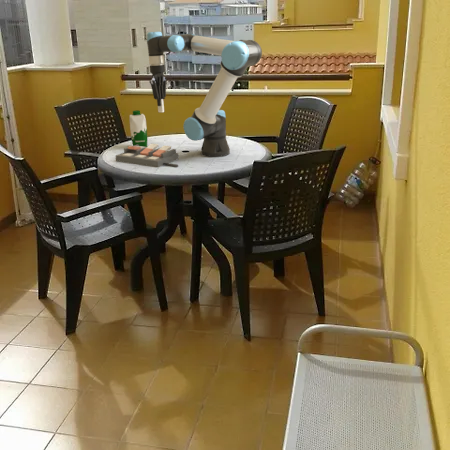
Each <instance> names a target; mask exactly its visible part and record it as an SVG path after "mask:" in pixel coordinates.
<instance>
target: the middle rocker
mask: <svg viewBox="0 0 450 450" xmlns="http://www.w3.org/2000/svg"><path fill="white" fill-rule="evenodd" d="M147 146H148V147H146V148H145V149H144V150H143V151H142V152H140V154H141V155H146V156H148V155H149V153H148V152H150V151H153V150H155V149H158V148H160V147H159V144H158V143H150V144H149V145H147Z"/></svg>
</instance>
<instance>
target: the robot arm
mask: <svg viewBox="0 0 450 450" xmlns="http://www.w3.org/2000/svg"><path fill="white" fill-rule="evenodd" d="M146 44H147V52H148V63H149V73H150V74H151V75H152V76H151V79H149V85H150V87H151V91H152V96H153V99H154V100H156V103H157V111H158V113H164V112H165V106H164V104H165V103H164V102H165V101H164V100H165V99H166V97H167V82H168V78H167V77H165V75H164V73H165V72H166V67H165V56H164V55H165V54H164V53H179V52H183V51H189V52H190V51H191V52H198V53H202V54H203V53H204V54H208V55H215V56H221V61H220V63H219V64H220V67H221V68H220V70H219V72H218V73H217V75H216V77H215V79H214V81H213V83H212V85H211V86H210V87H209V89H208V92H207V94H206V96H205V97H204V100H203V101H202V103H201V105H200V106H199V107H197V108H195V109H194V112H193V113H192V115H191V116H190V117H187V118H186V119H185V120H184V122H183V126H182V127H183V130H184V133H185V135H186V137H187V138H188V139H189V140H192V141H195V142H196V141H202V140H203V142H202V145H201V148H200V154H201V156H204V157H210V158H212V157H213V158H219V157H225V156H227V155H230V154H231V153H230V152H231V151H230V145H229V144H228V140H227V128H226V127H227V123H226V122H227V120H226V119H227V117H226V112H225V110H223V109H221V108H222V105H223V103H224V102H225V100H226V98H227V96H229V94H230V92H231V90H232V88H233V86H234V84H235V83H236V80H237V79H239V78H242V77H243V75H244V74H245V72H246V70H247V68H250V67H253V66H256V65H257V64H258V63H259V62H260V61H261V59H262V55H263V50H262V47H261V45H260V43H258V42H257V41H256V40H253V39H239V40H228V39H223V38H216V37H208V36H201V35H197V34H193V33H187V34H173V35H172V34H171V35H163V33H162V32H161V31H148V32H147V33H146Z"/></svg>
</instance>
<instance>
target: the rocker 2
mask: <svg viewBox="0 0 450 450" xmlns="http://www.w3.org/2000/svg"><path fill="white" fill-rule="evenodd" d="M159 148H160V149H158V148H157V149H158V150H157V151H156V152H154V153H153V156H157V157H161V154H162V153H164V152H167V151H170V150H172V146H170V145H163V146H161V147H159Z"/></svg>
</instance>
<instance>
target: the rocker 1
mask: <svg viewBox="0 0 450 450" xmlns="http://www.w3.org/2000/svg"><path fill="white" fill-rule="evenodd" d="M127 148H128V149H134V150H139V149H142V148H144V147H143V146H133V145H132V146H131V145H130V146H129V145H128V146H127Z"/></svg>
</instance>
